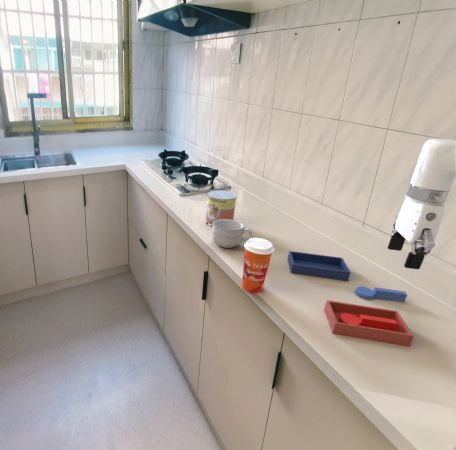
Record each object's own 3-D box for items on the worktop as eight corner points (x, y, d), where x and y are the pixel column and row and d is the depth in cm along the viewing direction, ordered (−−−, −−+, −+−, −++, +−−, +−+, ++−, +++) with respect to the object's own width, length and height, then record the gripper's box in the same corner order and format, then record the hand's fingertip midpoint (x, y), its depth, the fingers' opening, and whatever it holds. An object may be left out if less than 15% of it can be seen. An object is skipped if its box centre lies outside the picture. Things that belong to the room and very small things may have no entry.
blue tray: (340, 265, 109) (342, 257, 108) (348, 281, 100) (350, 272, 99) (287, 258, 112) (289, 250, 111) (290, 273, 104) (292, 264, 102)
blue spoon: (399, 295, 94) (402, 288, 93) (407, 305, 90) (410, 298, 89) (352, 288, 97) (355, 281, 96) (357, 298, 93) (360, 290, 92)
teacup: (205, 245, 119) (207, 224, 116) (218, 234, 127) (220, 215, 124) (242, 257, 112) (246, 235, 109) (254, 245, 120) (257, 225, 117)
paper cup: (236, 291, 94) (243, 246, 88) (240, 277, 100) (247, 234, 95) (265, 298, 91) (274, 252, 86) (267, 283, 98) (276, 240, 92)
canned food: (199, 221, 139) (202, 193, 134) (216, 215, 146) (219, 188, 141) (221, 230, 131) (225, 201, 126) (238, 223, 138) (242, 195, 133)
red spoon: (389, 323, 82) (392, 315, 81) (397, 336, 78) (401, 328, 77) (336, 315, 85) (338, 307, 84) (341, 327, 81) (343, 319, 80)
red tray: (393, 320, 84) (397, 310, 83) (409, 346, 76) (414, 336, 75) (323, 309, 87) (326, 300, 86) (332, 333, 79) (335, 323, 78)
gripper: (468, 208, 70) (437, 278, 77) (425, 185, 85) (403, 245, 92) (427, 204, 71) (400, 273, 78) (393, 182, 87) (373, 241, 94)
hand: (402, 258), depth 85 cm, fingers open, 9 cm apart
